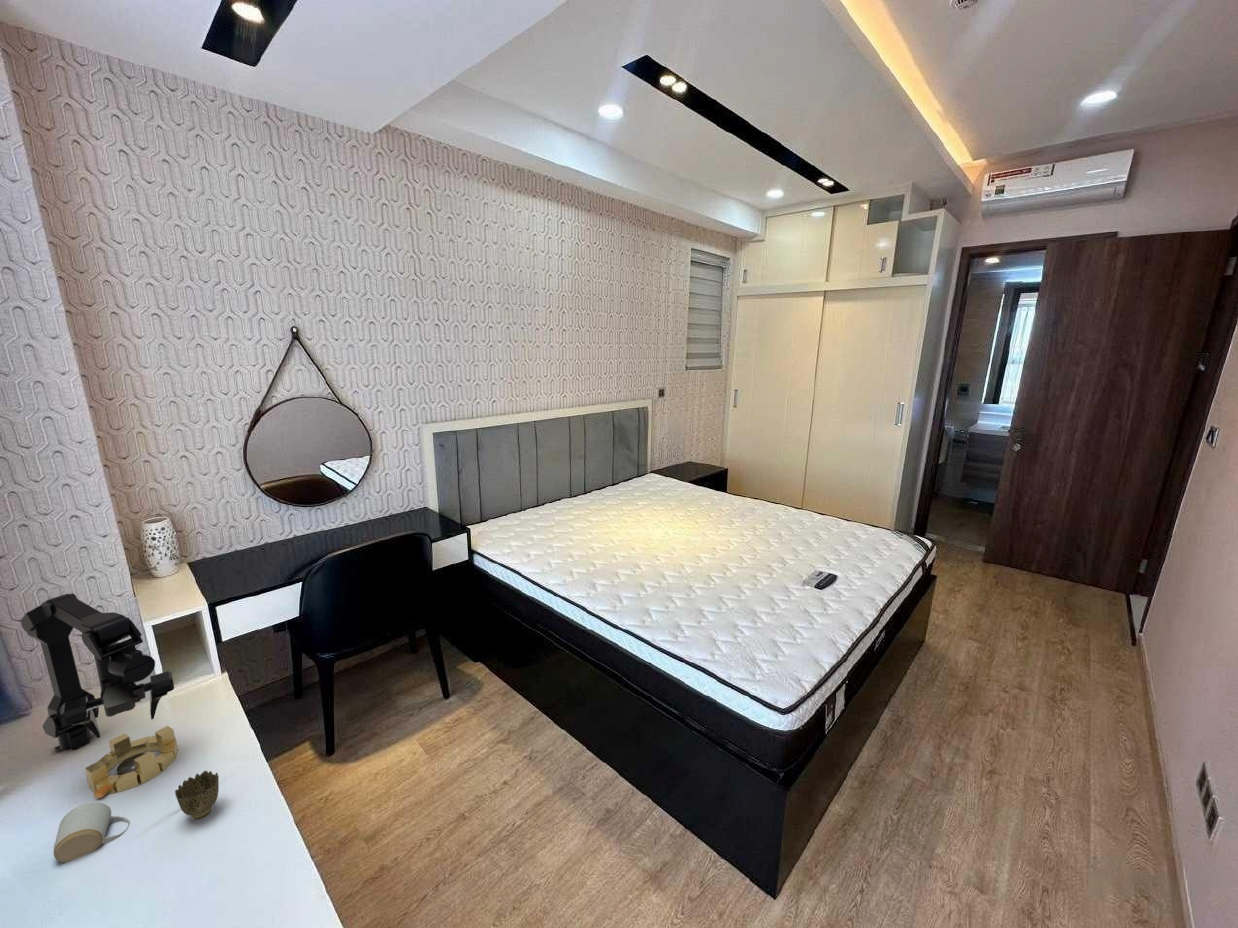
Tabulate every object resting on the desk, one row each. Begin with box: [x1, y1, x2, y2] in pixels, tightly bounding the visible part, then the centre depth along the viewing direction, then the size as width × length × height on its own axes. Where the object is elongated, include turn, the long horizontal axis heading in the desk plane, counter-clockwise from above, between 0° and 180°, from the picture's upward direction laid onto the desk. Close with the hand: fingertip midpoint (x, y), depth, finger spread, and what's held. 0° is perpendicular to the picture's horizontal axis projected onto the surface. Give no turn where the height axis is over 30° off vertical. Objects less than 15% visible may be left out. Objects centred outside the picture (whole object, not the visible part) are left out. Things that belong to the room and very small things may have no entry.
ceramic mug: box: [53, 801, 131, 863], centre depth 106 cm, size 11×8×8 cm
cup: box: [174, 770, 220, 820], centre depth 113 cm, size 8×7×8 cm
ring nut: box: [84, 725, 179, 799], centre depth 124 cm, size 16×16×5 cm
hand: (126, 727), depth 121 cm, fingers open, 9 cm apart
